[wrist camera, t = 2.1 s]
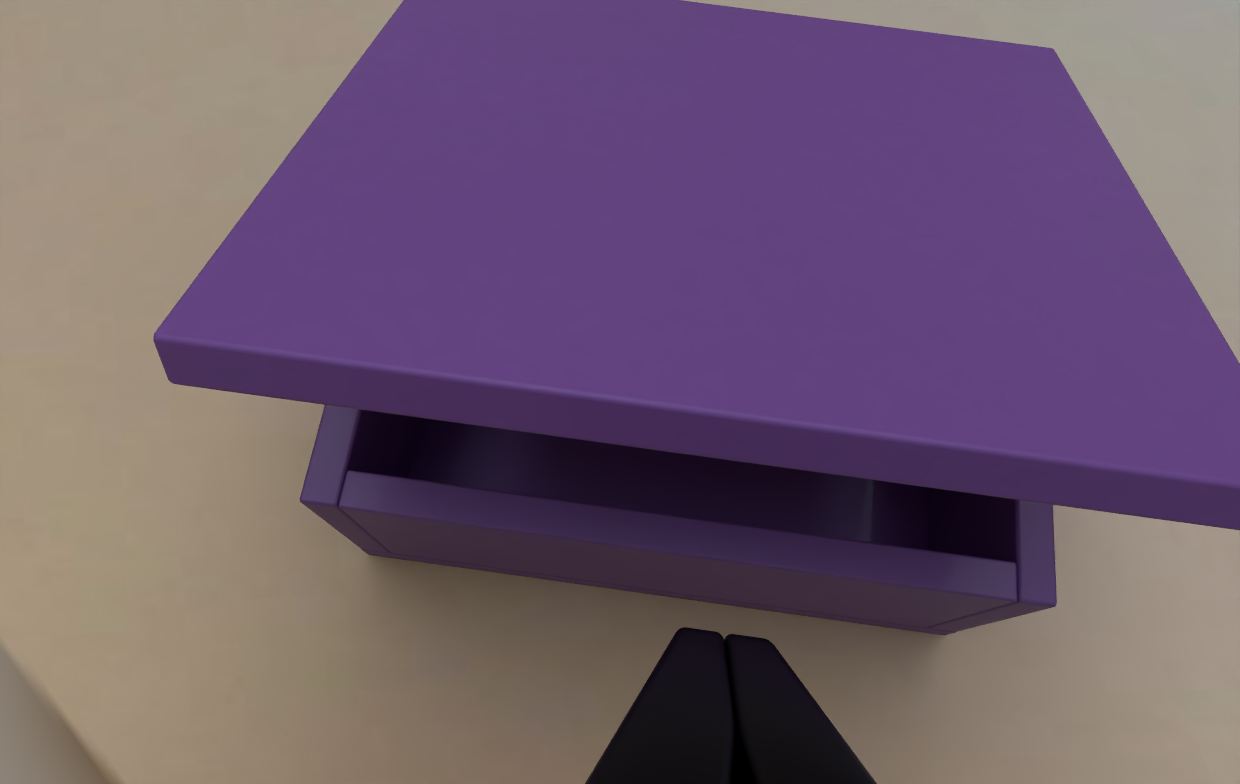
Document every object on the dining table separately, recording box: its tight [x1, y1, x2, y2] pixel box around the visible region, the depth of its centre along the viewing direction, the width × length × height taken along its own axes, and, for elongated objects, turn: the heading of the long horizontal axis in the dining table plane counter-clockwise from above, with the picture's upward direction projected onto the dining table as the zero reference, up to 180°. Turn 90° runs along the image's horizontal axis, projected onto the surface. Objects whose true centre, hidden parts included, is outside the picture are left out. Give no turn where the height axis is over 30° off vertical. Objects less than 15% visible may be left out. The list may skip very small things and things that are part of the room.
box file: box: [300, 405, 1057, 635], centre depth 20 cm, size 11×13×5 cm
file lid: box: [154, 0, 1240, 530], centre depth 15 cm, size 12×13×1 cm
